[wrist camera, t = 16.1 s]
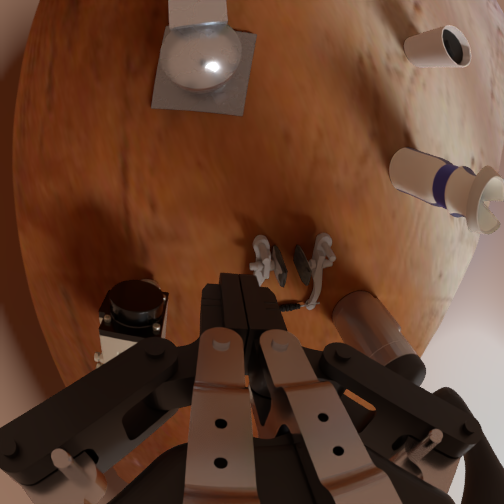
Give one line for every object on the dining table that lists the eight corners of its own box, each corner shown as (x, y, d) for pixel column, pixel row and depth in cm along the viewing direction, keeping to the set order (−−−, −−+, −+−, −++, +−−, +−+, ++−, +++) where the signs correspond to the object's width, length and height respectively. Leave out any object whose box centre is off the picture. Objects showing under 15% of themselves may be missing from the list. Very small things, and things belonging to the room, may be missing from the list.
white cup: (424, 77, 34) (465, 76, 25) (396, 52, 32) (436, 44, 23) (435, 51, 32) (474, 47, 23) (408, 27, 30) (447, 16, 21)
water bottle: (429, 151, 40) (548, 195, 18) (418, 197, 44) (527, 262, 21) (394, 137, 39) (525, 176, 16) (383, 188, 42) (501, 258, 20)
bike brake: (244, 227, 41) (239, 321, 53) (250, 254, 36) (244, 350, 47) (332, 226, 43) (309, 316, 55) (349, 251, 38) (319, 343, 49)
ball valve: (122, 247, 41) (81, 321, 25) (175, 256, 43) (158, 336, 27) (122, 334, 48) (101, 412, 32) (166, 342, 50) (158, 423, 34)
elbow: (240, 89, 29) (245, 82, 24) (170, 98, 28) (160, 93, 23) (229, -37, 21) (232, -61, 15) (164, -30, 20) (156, -52, 14)
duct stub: (255, 36, 30) (261, 25, 26) (241, 116, 35) (246, 115, 31) (167, 28, 28) (161, 16, 24) (152, 108, 33) (144, 107, 29)
